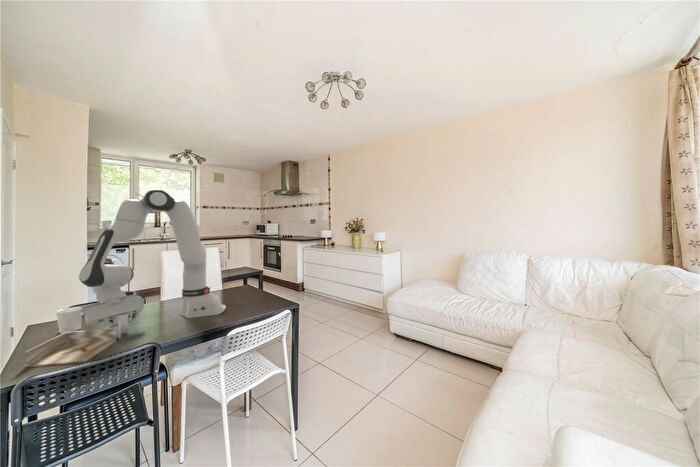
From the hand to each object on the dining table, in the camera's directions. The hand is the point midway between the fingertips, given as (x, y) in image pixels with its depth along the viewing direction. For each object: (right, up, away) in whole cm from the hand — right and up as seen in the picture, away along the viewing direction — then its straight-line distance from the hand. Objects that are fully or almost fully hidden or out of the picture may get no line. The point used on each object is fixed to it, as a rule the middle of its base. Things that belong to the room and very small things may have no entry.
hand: (121, 324), depth 113 cm
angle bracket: (+1, -5, 0) cm, 5 cm away
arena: (-5, -6, -15) cm, 17 cm away
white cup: (-28, -4, +4) cm, 29 cm away
